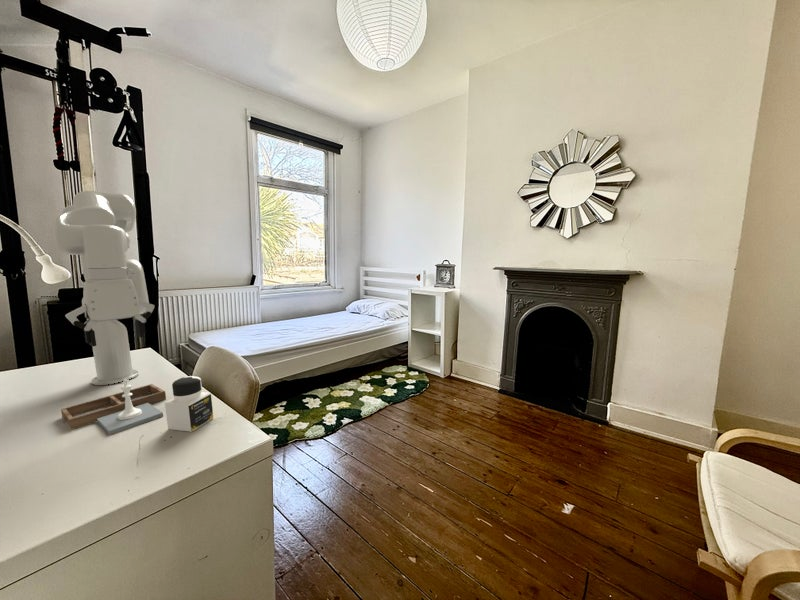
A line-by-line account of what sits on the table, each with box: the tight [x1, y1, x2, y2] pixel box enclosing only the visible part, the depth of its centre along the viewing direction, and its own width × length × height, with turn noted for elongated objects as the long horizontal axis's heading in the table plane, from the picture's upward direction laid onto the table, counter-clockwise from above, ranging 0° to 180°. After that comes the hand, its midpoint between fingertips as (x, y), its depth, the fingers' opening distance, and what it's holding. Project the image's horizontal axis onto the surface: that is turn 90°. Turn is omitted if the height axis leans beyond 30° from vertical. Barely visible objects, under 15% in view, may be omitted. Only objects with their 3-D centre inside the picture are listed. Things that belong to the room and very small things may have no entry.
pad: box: [96, 403, 164, 436], centre depth 85 cm, size 11×11×1 cm
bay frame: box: [60, 383, 167, 430], centre depth 92 cm, size 11×20×2 cm, turn 145°
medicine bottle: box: [164, 375, 214, 433], centre depth 82 cm, size 7×7×12 cm
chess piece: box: [118, 379, 142, 420], centre depth 85 cm, size 5×5×10 cm
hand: (117, 340), depth 84 cm, fingers open, 9 cm apart
